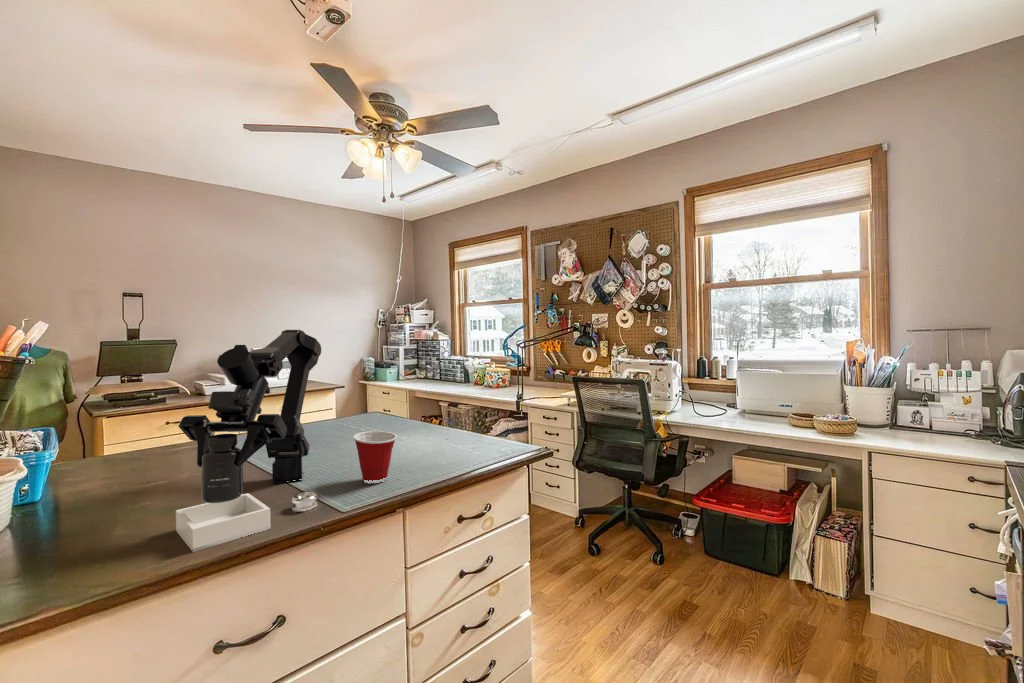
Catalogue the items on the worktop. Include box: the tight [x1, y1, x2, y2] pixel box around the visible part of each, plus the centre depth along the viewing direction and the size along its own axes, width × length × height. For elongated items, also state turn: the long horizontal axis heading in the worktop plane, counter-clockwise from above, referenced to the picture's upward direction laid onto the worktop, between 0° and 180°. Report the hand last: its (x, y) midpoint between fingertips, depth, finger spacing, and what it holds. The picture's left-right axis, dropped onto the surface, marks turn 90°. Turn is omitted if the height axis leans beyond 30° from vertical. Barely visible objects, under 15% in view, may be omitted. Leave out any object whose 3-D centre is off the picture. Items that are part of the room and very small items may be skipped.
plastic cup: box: [353, 430, 398, 481], centre depth 116 cm, size 11×11×12 cm
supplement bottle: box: [200, 433, 244, 503], centre depth 87 cm, size 7×7×12 cm
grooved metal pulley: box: [291, 491, 318, 512], centre depth 98 cm, size 5×3×5 cm
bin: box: [175, 493, 272, 553], centre depth 87 cm, size 13×13×4 cm
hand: (218, 465), depth 85 cm, fingers closed on supplement bottle, 7 cm apart
